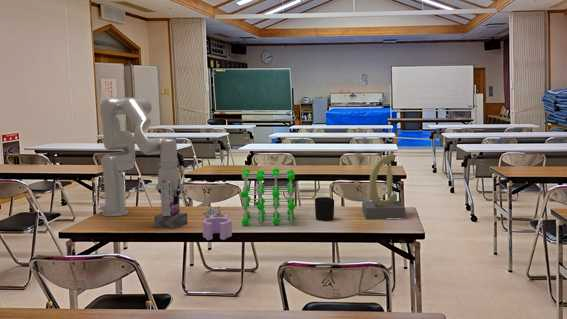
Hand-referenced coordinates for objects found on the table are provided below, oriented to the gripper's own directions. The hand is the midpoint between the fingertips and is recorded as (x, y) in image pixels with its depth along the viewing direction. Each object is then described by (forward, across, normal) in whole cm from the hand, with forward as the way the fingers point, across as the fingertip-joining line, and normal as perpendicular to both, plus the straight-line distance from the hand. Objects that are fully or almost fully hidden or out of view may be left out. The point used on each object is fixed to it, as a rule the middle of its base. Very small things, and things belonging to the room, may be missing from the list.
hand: (170, 203), depth 286 cm
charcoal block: (+10, 0, 0) cm, 10 cm away
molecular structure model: (+10, +40, +23) cm, 47 cm away
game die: (+10, +17, +10) cm, 22 cm away
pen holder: (+10, +65, +33) cm, 74 cm away
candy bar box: (+5, 0, 0) cm, 5 cm away
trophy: (+10, +90, +50) cm, 104 cm away
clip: (+10, +29, -10) cm, 33 cm away
